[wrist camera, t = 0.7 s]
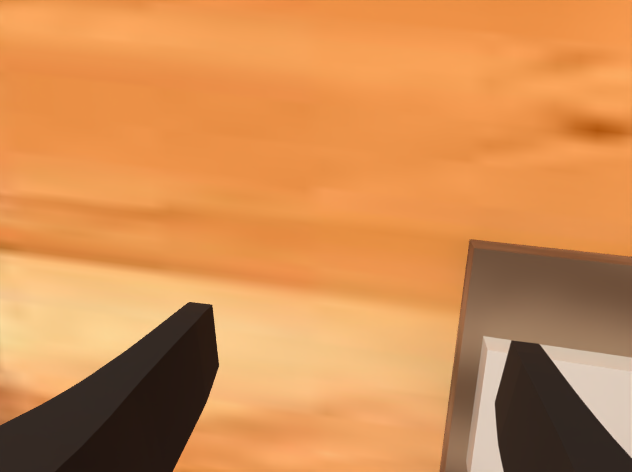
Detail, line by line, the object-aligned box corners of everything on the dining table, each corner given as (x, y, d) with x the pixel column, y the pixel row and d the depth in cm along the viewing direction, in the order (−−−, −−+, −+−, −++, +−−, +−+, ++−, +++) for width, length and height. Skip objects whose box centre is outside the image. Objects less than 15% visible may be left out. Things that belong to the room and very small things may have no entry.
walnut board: (614, 533, 29) (635, 575, 26) (436, 496, 31) (437, 531, 28) (667, 260, 27) (697, 272, 24) (469, 239, 29) (474, 248, 26)
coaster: (608, 487, 26) (622, 514, 24) (465, 460, 27) (468, 483, 25) (632, 357, 25) (650, 374, 23) (483, 336, 26) (487, 350, 24)
